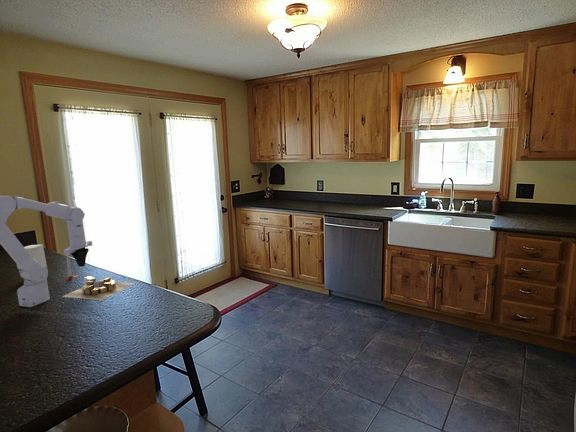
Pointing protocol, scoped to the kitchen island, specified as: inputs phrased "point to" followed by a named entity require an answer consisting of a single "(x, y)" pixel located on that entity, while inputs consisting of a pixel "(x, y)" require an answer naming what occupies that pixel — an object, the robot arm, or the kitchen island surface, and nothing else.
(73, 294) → the spindle board
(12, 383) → the kitchen island surface
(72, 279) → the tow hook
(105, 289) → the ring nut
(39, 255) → the skincare box
